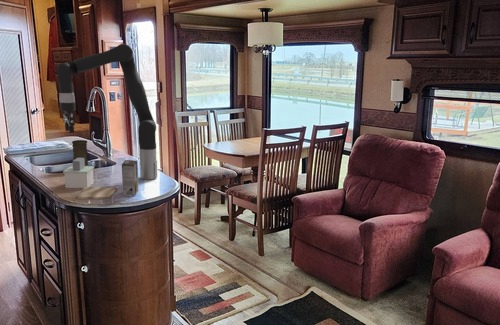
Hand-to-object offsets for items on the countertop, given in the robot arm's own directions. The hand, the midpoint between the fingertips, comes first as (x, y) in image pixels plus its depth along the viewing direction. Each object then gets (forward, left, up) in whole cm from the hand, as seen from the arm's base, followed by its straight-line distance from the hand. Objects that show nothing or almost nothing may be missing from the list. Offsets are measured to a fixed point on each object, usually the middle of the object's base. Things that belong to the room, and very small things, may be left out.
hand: (69, 131), depth 226 cm
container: (+2, -20, -27) cm, 34 cm away
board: (-20, +26, -27) cm, 42 cm away
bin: (-7, +11, -27) cm, 30 cm away
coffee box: (-36, +24, -27) cm, 51 cm away
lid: (-7, +10, -20) cm, 24 cm away
